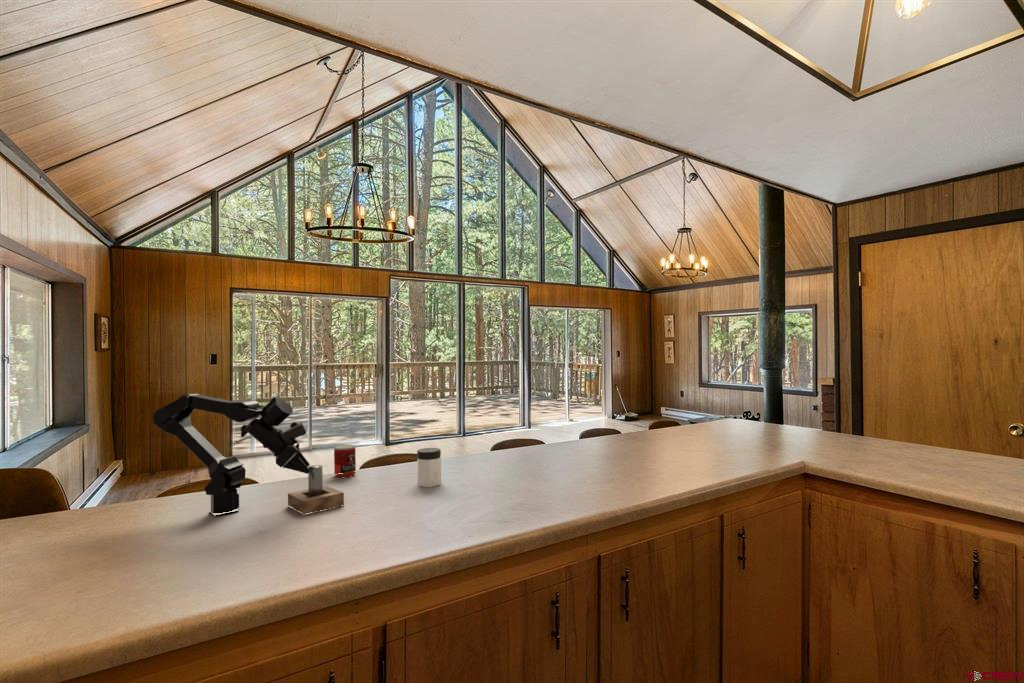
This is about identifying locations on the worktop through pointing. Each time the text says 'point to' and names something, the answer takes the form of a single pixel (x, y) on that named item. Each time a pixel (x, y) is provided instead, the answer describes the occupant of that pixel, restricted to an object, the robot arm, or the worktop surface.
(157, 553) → the worktop surface
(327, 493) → the wooden socket block
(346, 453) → the canned food
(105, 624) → the worktop surface
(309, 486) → the grey upright bar
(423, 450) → the jar
